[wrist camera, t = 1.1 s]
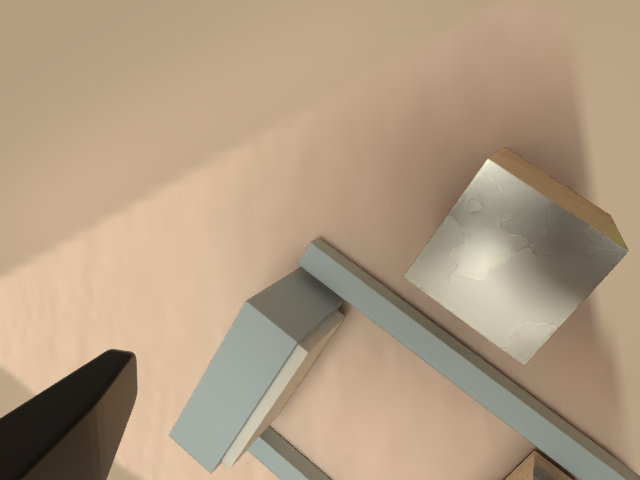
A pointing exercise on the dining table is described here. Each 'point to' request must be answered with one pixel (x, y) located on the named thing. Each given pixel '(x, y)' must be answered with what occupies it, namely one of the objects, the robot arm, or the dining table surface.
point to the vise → (304, 347)
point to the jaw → (537, 470)
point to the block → (517, 255)
